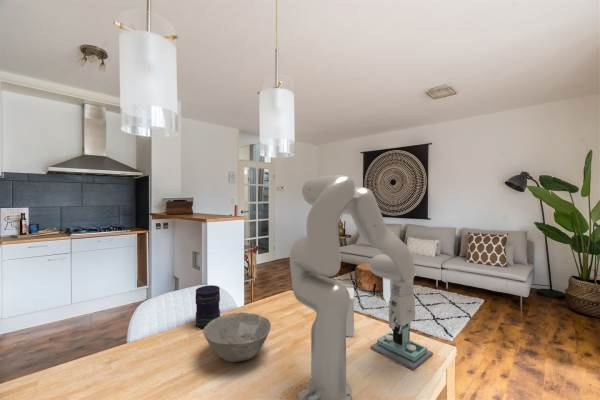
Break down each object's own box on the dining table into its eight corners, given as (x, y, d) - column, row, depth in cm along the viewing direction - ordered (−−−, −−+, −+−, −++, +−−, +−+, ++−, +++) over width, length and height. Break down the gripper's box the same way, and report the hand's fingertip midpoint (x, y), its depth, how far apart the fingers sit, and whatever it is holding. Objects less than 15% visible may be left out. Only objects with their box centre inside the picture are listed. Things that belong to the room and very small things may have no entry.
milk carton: (353, 337, 106) (353, 288, 106) (335, 335, 108) (335, 286, 107) (353, 328, 113) (353, 282, 113) (336, 326, 115) (336, 281, 114)
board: (413, 370, 86) (413, 358, 86) (370, 348, 98) (370, 338, 98) (432, 355, 94) (432, 344, 94) (390, 336, 106) (390, 327, 106)
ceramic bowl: (246, 385, 80) (246, 350, 80) (188, 364, 89) (187, 334, 89) (283, 346, 100) (283, 319, 100) (232, 333, 109) (231, 308, 109)
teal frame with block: (414, 361, 88) (414, 338, 88) (376, 343, 99) (376, 323, 99) (427, 351, 94) (427, 330, 94) (390, 335, 104) (390, 316, 104)
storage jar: (224, 319, 122) (223, 285, 121) (213, 330, 112) (213, 293, 112) (202, 318, 123) (202, 284, 123) (190, 328, 113) (190, 292, 113)
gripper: (398, 297, 88) (398, 354, 88) (423, 286, 98) (423, 337, 99) (378, 291, 93) (378, 345, 94) (404, 281, 104) (403, 329, 105)
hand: (401, 340), depth 96 cm, fingers closed on teal frame with block, 4 cm apart
